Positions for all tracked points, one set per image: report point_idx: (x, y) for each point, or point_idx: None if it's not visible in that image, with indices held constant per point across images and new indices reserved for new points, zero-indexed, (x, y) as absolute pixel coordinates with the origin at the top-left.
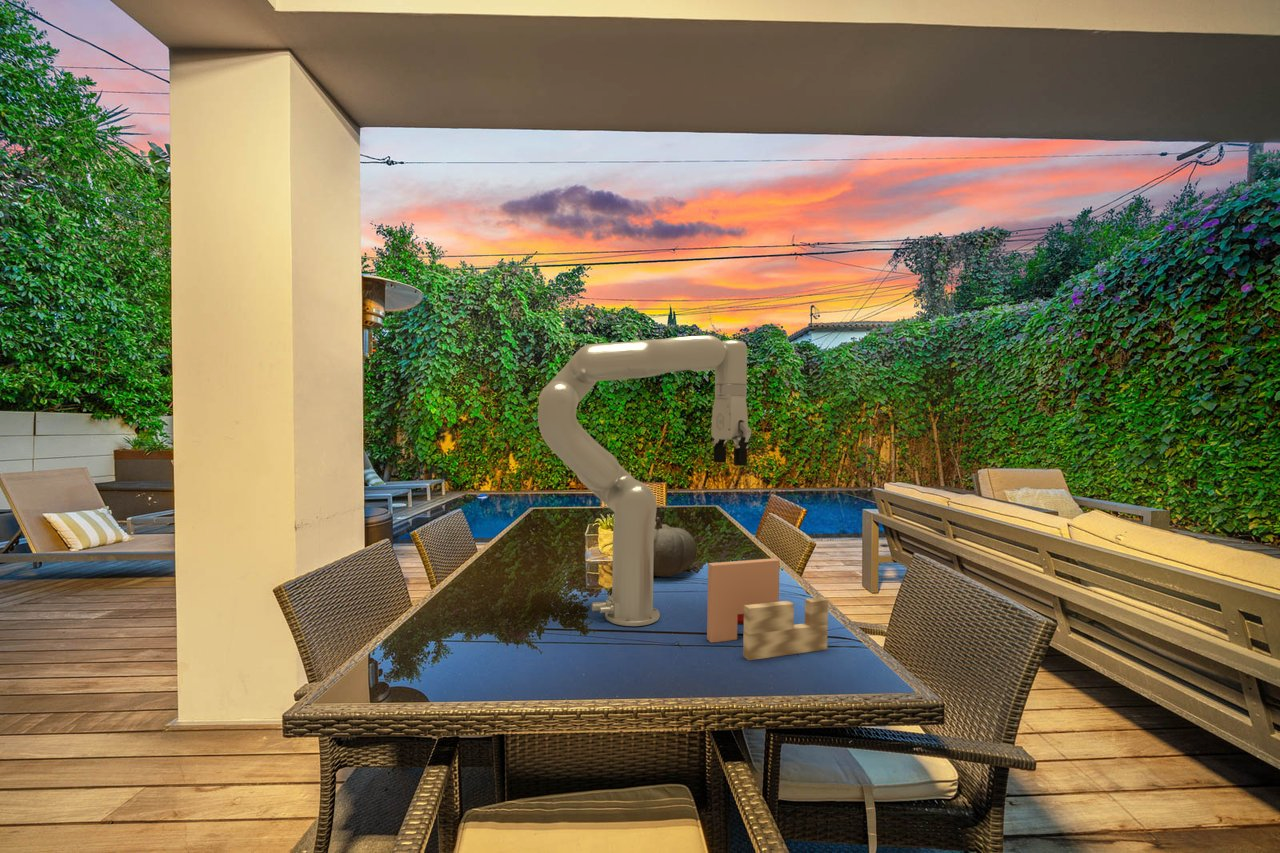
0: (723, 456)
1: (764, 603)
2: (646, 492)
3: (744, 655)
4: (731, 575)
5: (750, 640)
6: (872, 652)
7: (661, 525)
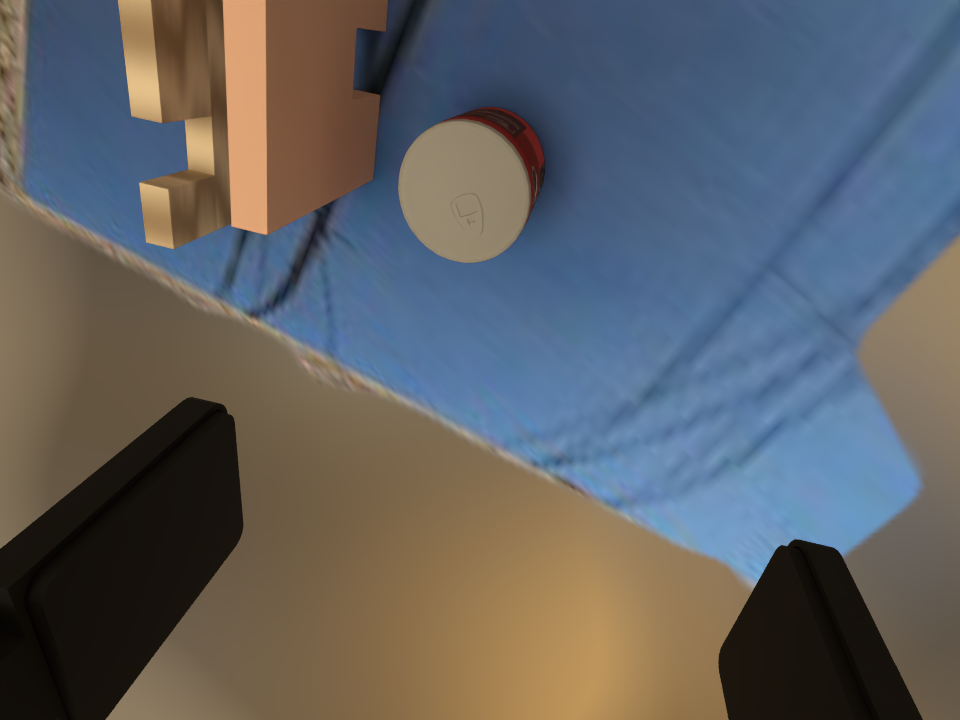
0: (749, 709)
1: (150, 17)
2: None
3: None
4: None
5: None
6: (193, 284)
7: None
